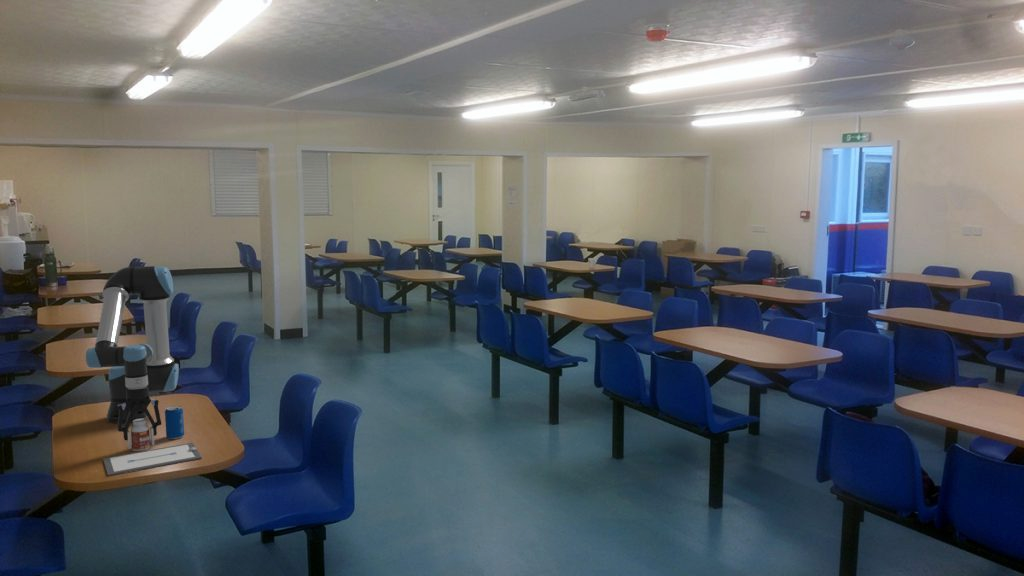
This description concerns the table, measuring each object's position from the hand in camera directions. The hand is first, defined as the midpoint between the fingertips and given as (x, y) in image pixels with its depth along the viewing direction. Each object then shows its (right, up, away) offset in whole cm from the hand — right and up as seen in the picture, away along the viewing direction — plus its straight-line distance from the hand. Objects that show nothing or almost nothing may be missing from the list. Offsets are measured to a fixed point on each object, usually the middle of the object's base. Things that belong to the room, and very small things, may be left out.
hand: (141, 445), depth 276 cm
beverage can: (+7, 0, +13) cm, 15 cm away
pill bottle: (0, -1, 0) cm, 1 cm away
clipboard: (+9, -3, -10) cm, 14 cm away
